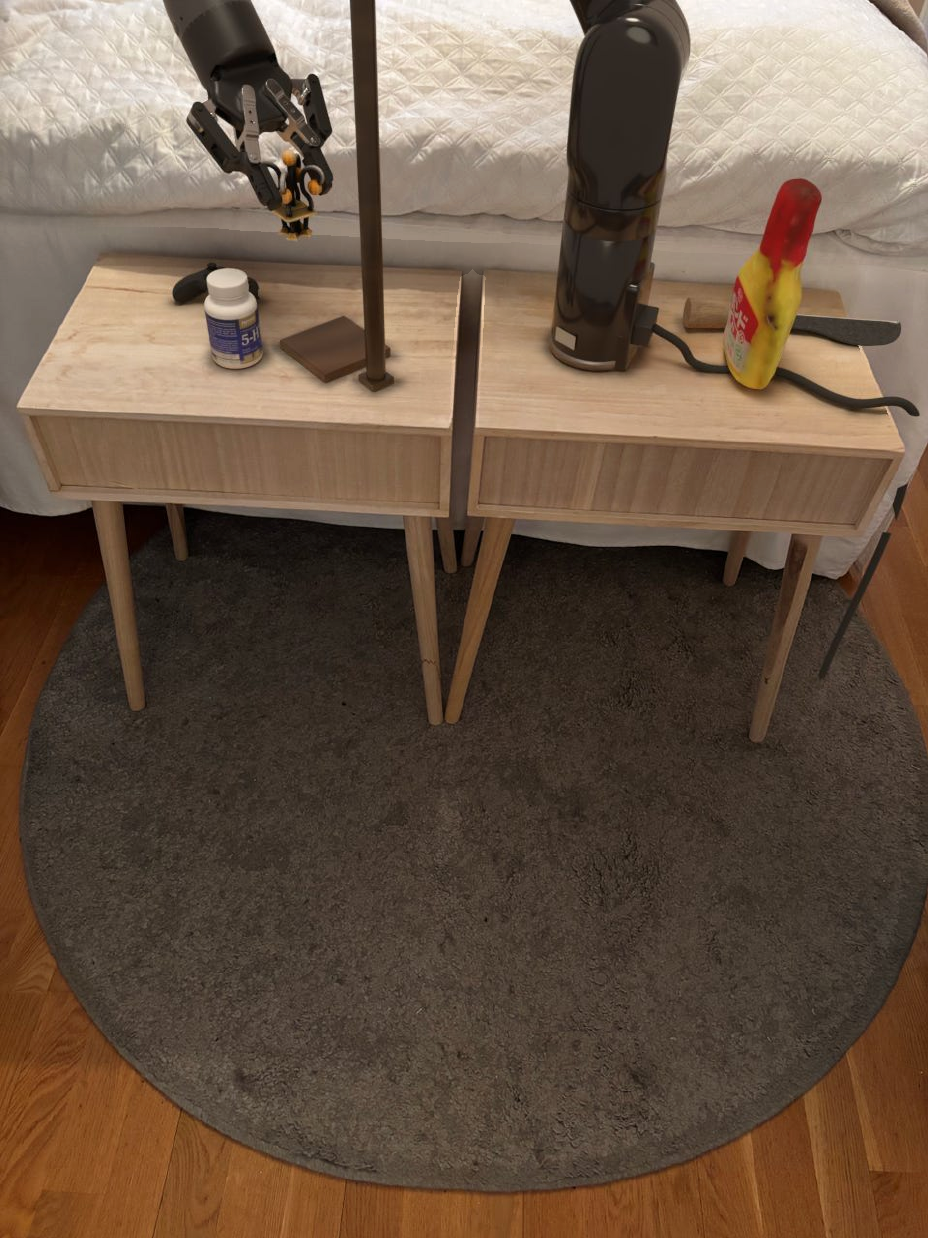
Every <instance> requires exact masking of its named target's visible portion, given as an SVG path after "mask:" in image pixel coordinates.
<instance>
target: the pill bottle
mask: <svg viewBox="0 0 928 1238" xmlns="http://www.w3.org/2000/svg"><path fill="white" fill-rule="evenodd" d="M247 277H248V275H247V274H246V272H244V271H243V270H241V269H238V268H233V267H231V268H230V267H225V268H224V269H219V270H215V271H213V272H211V273H210V274H209V275H208V276H207V287H208V291H207V292H208V295H207V296H206V298H205V300H204V303H203V308H204V315H205V321H206V326H207V327H206V329H207V334H208V341H209V346H210V352H211V356H212V360H213V361H214V362H215V363H216V364H217V365H219V366H220V367H223V368H227V369H231V370H235V369H236V370H238V369H245V368H249V367H251V366H255V364H257V363H259V362H260V361H261V359H262V358H263V355H264V351H263V350H264V349H263V343H262V342H263V341H262V333H261V332H262V331H261V325H260V316H259V309H258V301H256V299H255V297H254V296H253V295H252V294H251V293H250V292H249V285H248V279H247Z"/></svg>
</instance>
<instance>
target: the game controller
mask: <svg viewBox="0 0 928 1238" xmlns="http://www.w3.org/2000/svg"><path fill="white" fill-rule="evenodd" d="M224 268H226V267H225V266H221V265H220V266H219V265H217V263H215V262H208V263H207V264H206V267H205V268H204V269H201V270H199V271H196V272H192V273H190V274H187V275H185V276H184V277H182V278H180V279H179V280H178V281H177V282H176V283H175V285H174V286H173V288H172V291H171V292H172V298H173V300H174V301H175V302H176V303H178V304H185V303H188V302H190V301H192V300H194V299H196V298H197V297H199V296H201V295H203V294H205V293H207V292H208V287H207V276H208V275H209V274H210V273H211V272H213V271H215V270H219V269H224ZM247 279H248V285H249V292H250V293H251V294H252V295H253V296H254V297H255V299H256V301H257V302H259V301H260V296H259V291H260V285H259V283H258V281H257V280H256V279H254V278H253V277H250V276H247Z"/></svg>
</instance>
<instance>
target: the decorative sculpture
mask: <svg viewBox="0 0 928 1238" xmlns="http://www.w3.org/2000/svg"><path fill="white" fill-rule="evenodd" d="M280 158H281V161H282V164H283V165H285V166H286V170H285V171H283V172H282V171H281V169H280V168H279V166H278V165H277V164H275V163H274V162H273V161H269V160H263V161H260V162H261V163H266V165H267V167H268V168H270V169H272V170H273V171H274V172H275V174H276V176H277V188H278V190H279V192H280V194H281V196H282V199H283V202H282V204H281V205H280V207H279V208H278V209H276V210H273V211H271V213H273V214H275V215H276V216H277V217H279V218H280V220H281V225H282V226H281V228H280V230H279V231H278V235H280V236H287V237H286V241H291V242H297V241H299V239H300V237H302V238H303V237H304V238H310V237H311V236H312V235H313V230H312V229H311V228H310V227H309V219H310V217H313V216H317V214H318V211H317V210H316V209H314V208H315V202H314V200H313V197H312V196H319V195H318V194H319V193H321V191H322V186H321V185H322V184H323V182H324V174H323V172H322V170H321V169H320V168H319V167H317V166H314V165H308V166H303V167H302V159H301V155H300V154H299V152H296V153H295V152H294V151H293V150H291V149H286V150H284V151H282V153H281V157H280ZM308 171H315V172H316V173H318V175H319V180H316V179H313V180H311V179H310V181H308V183H307V189H306V184H305V177H306V174H308V173H307V172H308ZM298 184H299V185H298ZM307 190H308V191H307ZM301 194H302V195H303V197H304V198H305V199H306V200H307V202H308V204H307V203H305V202H304V200H301ZM301 220H302V221H303V222H302V221H301Z"/></svg>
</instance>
